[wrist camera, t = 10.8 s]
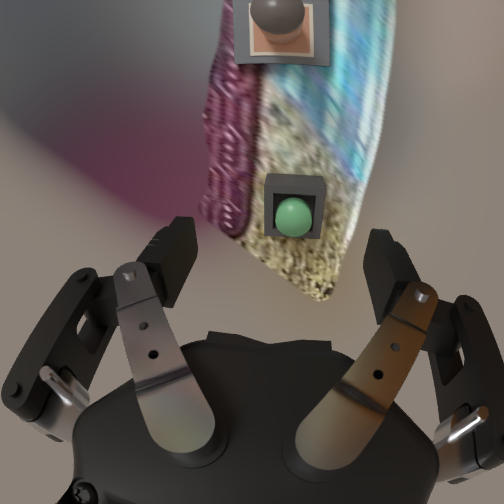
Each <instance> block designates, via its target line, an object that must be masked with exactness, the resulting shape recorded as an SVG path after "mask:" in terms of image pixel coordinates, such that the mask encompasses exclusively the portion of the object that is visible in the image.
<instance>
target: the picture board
mask: <svg viewBox="0 0 504 504" xmlns="http://www.w3.org/2000/svg"><path fill="white" fill-rule="evenodd" d="M252 1H253V0H233V26H234V56H235V64H259V63H277V64H303V65H317V66H327V67H329V66H330V25H329V0H301V1H302V2H303V4H304V7H305V16H304V20H303V25H302V30H301V34H300V36H299V38H298V39H297V40H296V41H294V42H293V43H291V44H287V45H278V44H275V43H272V42H270V41H269V40H268V39H267V38H266V37H265V36H264V34H263V33H262V31H261V30H260V29H259V27H258V26H257V25H256V23H255V22H254V21H253V19H252V17H251V14H250V6H251V3H252Z"/></svg>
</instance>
